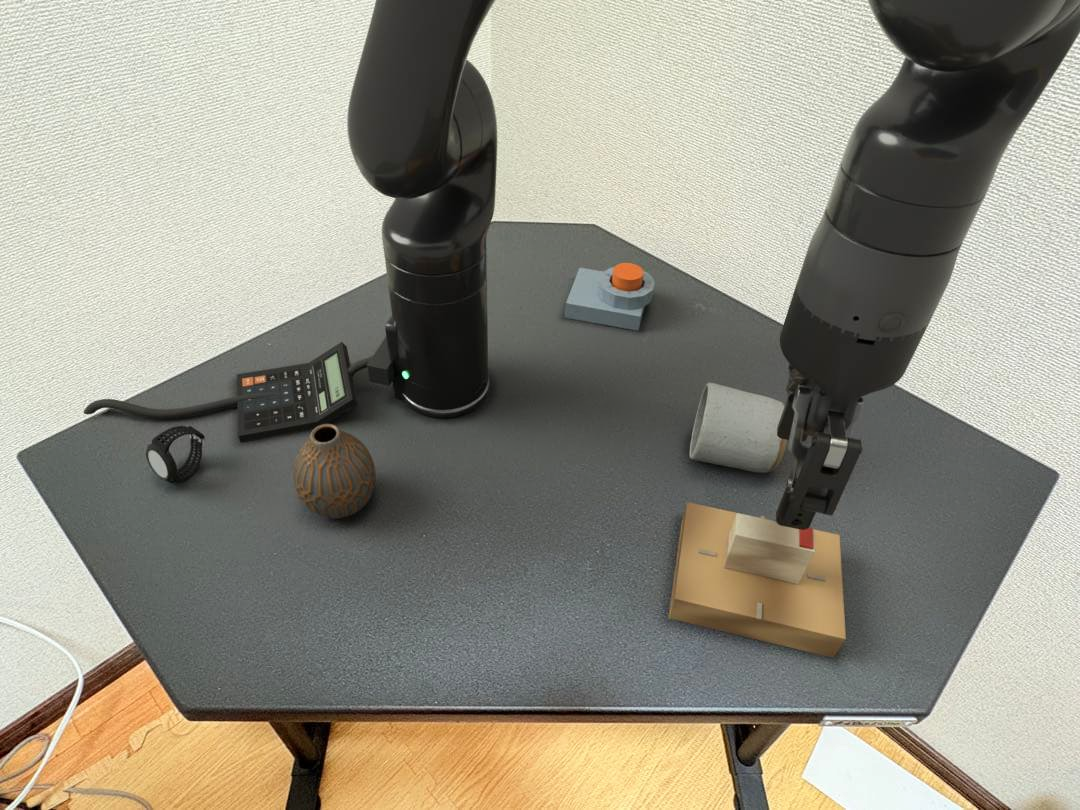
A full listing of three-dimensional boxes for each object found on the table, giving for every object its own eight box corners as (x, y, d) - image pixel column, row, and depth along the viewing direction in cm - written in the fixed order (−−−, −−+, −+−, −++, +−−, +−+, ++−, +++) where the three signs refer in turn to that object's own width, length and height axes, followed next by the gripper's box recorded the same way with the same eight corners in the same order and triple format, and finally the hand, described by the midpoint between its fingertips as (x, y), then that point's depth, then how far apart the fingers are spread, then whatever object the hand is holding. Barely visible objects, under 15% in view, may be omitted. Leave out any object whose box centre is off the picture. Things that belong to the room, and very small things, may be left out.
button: (609, 289, 86) (610, 276, 85) (614, 273, 88) (616, 260, 87) (639, 294, 85) (641, 281, 84) (643, 277, 88) (645, 265, 87)
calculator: (238, 380, 77) (231, 358, 75) (349, 362, 80) (345, 341, 78) (240, 442, 71) (232, 420, 69) (360, 420, 74) (356, 398, 72)
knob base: (668, 619, 59) (674, 598, 57) (681, 521, 66) (687, 499, 64) (833, 659, 57) (846, 639, 55) (828, 554, 64) (840, 532, 62)
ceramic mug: (773, 491, 69) (795, 434, 64) (686, 475, 70) (702, 417, 65) (771, 417, 77) (791, 360, 71) (693, 403, 78) (707, 346, 72)
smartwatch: (153, 470, 68) (134, 433, 65) (209, 449, 70) (194, 412, 67) (164, 499, 66) (145, 462, 62) (222, 476, 68) (207, 439, 64)
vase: (295, 483, 67) (275, 416, 61) (369, 463, 70) (357, 396, 64) (309, 540, 63) (289, 474, 57) (387, 517, 65) (376, 450, 59)
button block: (564, 317, 88) (566, 290, 85) (578, 281, 93) (580, 254, 91) (644, 332, 86) (649, 304, 83) (653, 294, 92) (658, 267, 89)
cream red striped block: (723, 567, 59) (735, 532, 56) (724, 545, 61) (737, 510, 57) (798, 584, 58) (816, 550, 55) (798, 562, 60) (815, 527, 56)
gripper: (796, 223, 47) (742, 404, 58) (799, 357, 37) (733, 545, 48) (917, 240, 46) (838, 421, 57) (954, 383, 36) (850, 570, 47)
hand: (790, 478), depth 53 cm, fingers open, 8 cm apart
